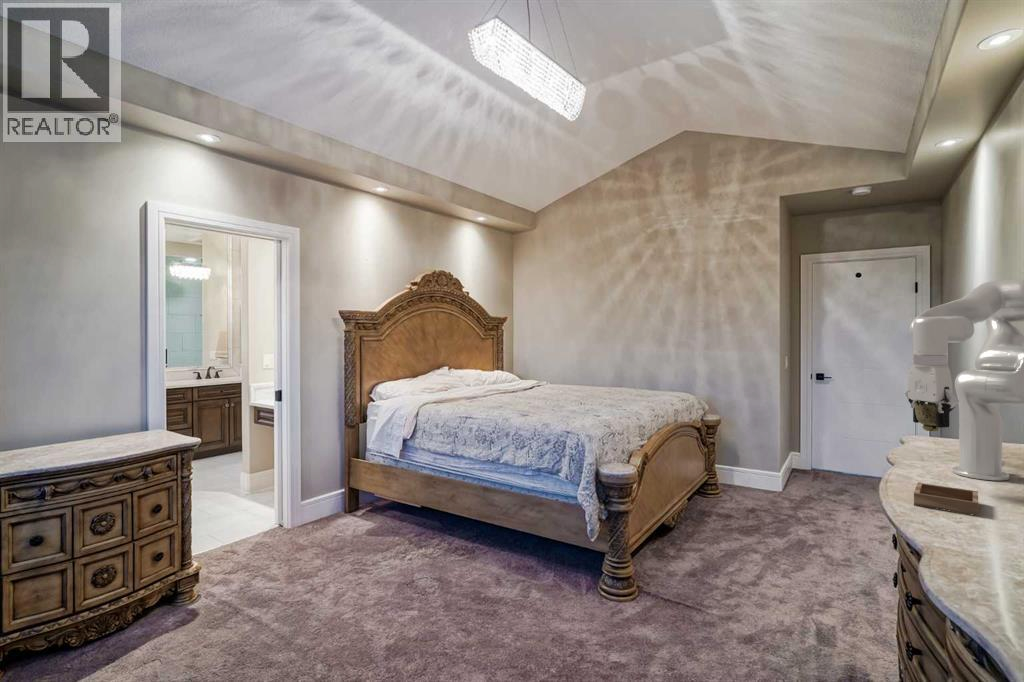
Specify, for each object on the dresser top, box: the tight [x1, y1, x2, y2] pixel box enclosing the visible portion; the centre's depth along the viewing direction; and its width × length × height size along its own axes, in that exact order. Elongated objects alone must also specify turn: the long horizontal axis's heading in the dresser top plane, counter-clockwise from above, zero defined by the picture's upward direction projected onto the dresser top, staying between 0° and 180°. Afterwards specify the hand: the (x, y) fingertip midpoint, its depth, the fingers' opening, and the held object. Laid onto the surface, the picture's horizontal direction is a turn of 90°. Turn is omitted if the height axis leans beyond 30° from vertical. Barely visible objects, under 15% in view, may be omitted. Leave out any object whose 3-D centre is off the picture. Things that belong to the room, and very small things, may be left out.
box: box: [913, 482, 979, 516], centre depth 129 cm, size 12×12×3 cm
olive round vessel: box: [914, 401, 945, 432], centre depth 144 cm, size 8×7×8 cm
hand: (930, 424), depth 144 cm, fingers closed on olive round vessel, 7 cm apart
